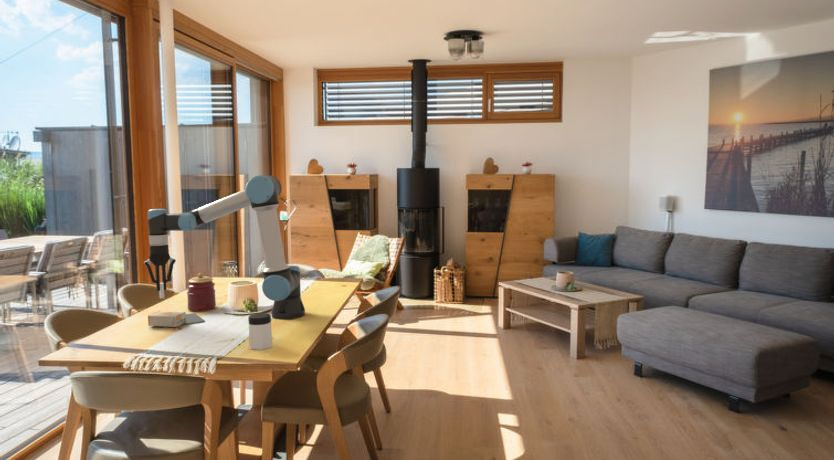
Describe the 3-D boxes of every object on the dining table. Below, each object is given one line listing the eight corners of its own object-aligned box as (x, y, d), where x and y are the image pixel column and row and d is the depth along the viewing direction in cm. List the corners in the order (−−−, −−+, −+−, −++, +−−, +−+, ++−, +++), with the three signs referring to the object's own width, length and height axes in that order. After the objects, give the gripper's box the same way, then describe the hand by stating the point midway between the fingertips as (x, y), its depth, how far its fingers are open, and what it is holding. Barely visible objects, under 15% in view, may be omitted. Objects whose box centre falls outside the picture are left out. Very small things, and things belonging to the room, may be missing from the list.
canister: (214, 304, 292) (212, 269, 291) (217, 310, 281) (215, 273, 279) (186, 307, 287) (184, 272, 285) (188, 313, 275) (186, 276, 273)
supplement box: (148, 326, 250) (175, 327, 248) (147, 315, 250) (175, 316, 248) (159, 321, 258) (186, 322, 256) (159, 310, 258) (186, 311, 256)
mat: (205, 321, 259) (205, 320, 258) (164, 328, 249) (163, 326, 249) (194, 314, 273) (194, 312, 273) (155, 319, 264) (155, 318, 264)
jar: (264, 341, 227) (263, 311, 226) (277, 345, 222) (276, 314, 220) (244, 347, 220) (243, 316, 219) (257, 351, 215) (255, 319, 214)
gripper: (172, 242, 260) (175, 294, 263) (141, 244, 253) (144, 298, 256) (176, 244, 254) (179, 297, 257) (144, 246, 247) (147, 301, 249)
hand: (161, 297), depth 256 cm, fingers closed
